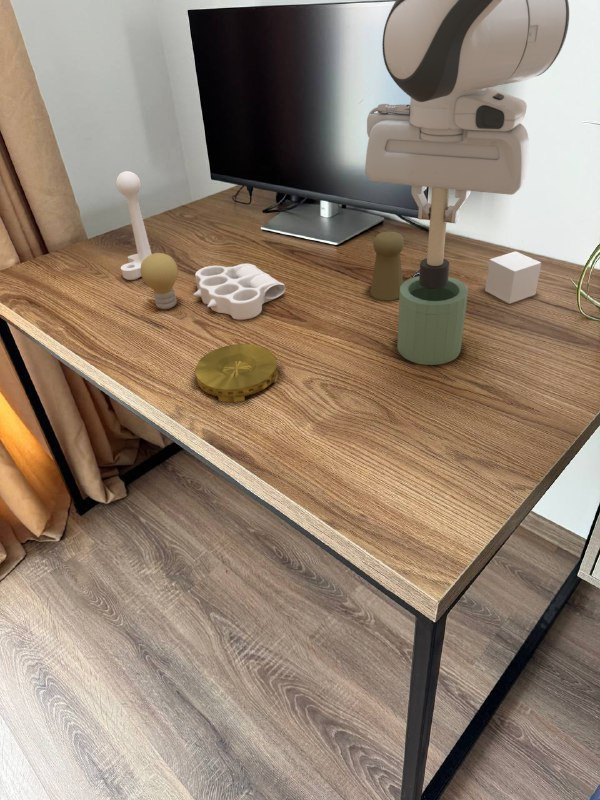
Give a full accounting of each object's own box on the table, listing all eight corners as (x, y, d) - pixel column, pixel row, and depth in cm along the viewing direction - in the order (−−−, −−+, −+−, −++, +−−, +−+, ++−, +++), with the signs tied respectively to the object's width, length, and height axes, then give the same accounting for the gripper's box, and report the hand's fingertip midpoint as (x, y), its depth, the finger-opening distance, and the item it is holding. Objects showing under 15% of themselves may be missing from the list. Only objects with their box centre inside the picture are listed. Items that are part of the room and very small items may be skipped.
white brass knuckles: (295, 302, 106) (224, 328, 100) (246, 270, 118) (180, 291, 112) (294, 285, 104) (221, 311, 97) (244, 254, 116) (177, 275, 110)
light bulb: (165, 295, 111) (154, 245, 105) (191, 302, 108) (181, 250, 102) (142, 310, 107) (129, 258, 101) (168, 317, 104) (156, 264, 98)
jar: (468, 339, 92) (475, 281, 86) (449, 370, 86) (456, 310, 80) (410, 327, 96) (413, 270, 90) (387, 356, 90) (390, 297, 84)
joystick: (168, 278, 117) (147, 175, 105) (132, 289, 114) (106, 184, 102) (150, 260, 125) (127, 163, 113) (115, 270, 122) (89, 171, 110)
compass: (294, 375, 87) (293, 363, 86) (230, 412, 81) (228, 400, 79) (243, 347, 94) (242, 335, 93) (181, 379, 88) (179, 367, 87)
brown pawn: (364, 290, 108) (364, 232, 101) (392, 282, 110) (394, 225, 103) (381, 303, 103) (382, 243, 97) (410, 295, 105) (413, 235, 99)
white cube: (510, 282, 107) (515, 251, 103) (535, 294, 102) (541, 262, 99) (484, 290, 105) (489, 259, 101) (509, 303, 100) (514, 271, 97)
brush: (451, 279, 84) (462, 171, 75) (442, 290, 81) (452, 180, 72) (424, 274, 86) (431, 168, 77) (415, 286, 83) (421, 177, 74)
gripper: (357, 108, 72) (357, 219, 80) (529, 115, 64) (510, 238, 72) (377, 98, 76) (375, 204, 85) (541, 103, 68) (521, 220, 76)
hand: (438, 220), depth 78 cm, fingers closed on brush, 2 cm apart
